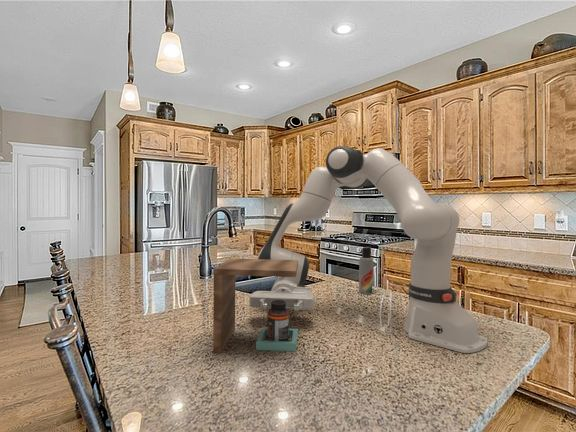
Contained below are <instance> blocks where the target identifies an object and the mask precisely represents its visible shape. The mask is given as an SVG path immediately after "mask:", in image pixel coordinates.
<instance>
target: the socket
mask: <svg viewBox="0 0 576 432" xmlns="http://www.w3.org/2000/svg"><path fill="white" fill-rule="evenodd" d="M298 332H299V331H298V328H289V338H291V341H288V342H286V341H267V340H265V339H266V337H267V327H264V326H263V327H261V329H260V332H259V334H258V336H257V339H256V342H255V350H256V351H257V350H258V351H279V352H280V351H281V352H297V343H298Z"/></svg>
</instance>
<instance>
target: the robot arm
mask: <svg viewBox="0 0 576 432" xmlns="http://www.w3.org/2000/svg"><path fill="white" fill-rule="evenodd" d="M368 181H369V182H370V183H372V185H374V188H376V189H377V190H378V191H379V192H380V193H381V195H382V196H383V197H384V198H385V200H386V201H388V203H390V205H391V207H392V208H393V209H394V211H395V213H396V215H397V216H398V218H399V220H400V221H401V228H402V230H403V232H404V233H405V234H406V235H407V236H408V237H410V238H411V239H414V240H417V242H416V245H415V248H414V251H413V253H412V256H411V258H410V282H409V284H408V299H409V301H408V308H407V314H406V320H405V322H404V325H403V330H404V331H405V332H406V333H407V336H408V338H409V339H411V340H413V341H419V342H423V343H426V344H429V345H434V346H437V347H440V348H445V349H448V350H451V351H455V352H459V353H462V354H472V353H476V352H479V351H483V350H484V349H485V348H486V347H487V346H488V338H487V337H485V336H484V335H481V334H479V325H478V321H477V320H476V318H475V317H474V316H472V315H471V313H469V312H468V311H467V310H466V309H465V308H464V307H463V306H461V304H460V303H459V302H457V296H459V295H460V294H459V293H460V291H459V290H457V291H455V290H454V289H453V288H452V286H451V275H452V273H451V272H452V260H453V253H454V248H455V244H456V240H457V232H458V228H459V225H460V216H459V214H458V212H457V210H456V209H455V208H453V207H452V206H450V205H448V204H447V203H442V202H436V201H434V200H433V199H432V198H431V197H430V196H429V194H428V193H427V192H426V190H425V188H424V187H423V185H422V182H421V181H420V180H419V179H418V178H417V177H416V176H415V175H414V174H413V173H412V172H411V171H410V170H409V169H408V167H406V166H405V165H404V163H402V162H401V161H400V160H399V159H398V158H397V157H396V156H394V155H393V154H392V153H390V152H389V151H387V150H385V149H383V148H382V147H381V148H379V147H378V148H374V149H371V150H370V151H369V152H367V153H366V154H363V151H362V150H359V149H355V148H353V147H352V148H351V147H348V146H343V145H340V146H339V145H338V146H336V147H333V148H331V150H330V151H329V152H328V153H327V155H326V157H325V166H317V167H315V168H313V169H312V171H311V172H310V174H309V176H308V178H307V180H306V182H305V184H304V186H303V189H302V191H301V195H300V197H298V199H297V200H295V202H294V203H290V204H288V205H287V207H286V208H285V209H284V210H283V213H282V214H281V216H280V218H279V219H278V221H277V223H276V225H275V226H274V228H273V231H272V233H270V236H269V238H268V239H267V242H265V244H264V245H263V247H262V248H261V249H260V251H259V253H258V255H257V258H256V259H270V260H298V269H297V274H296V277H278V278H277V279H276V280H275V281H274V283H273V285H272V287H271V290H256V291H253V292H252V293H251V294H249V295H250V296H249V301H248V302H249V307H250V308H255V309H256V308H260V309H261V310H262V311H266V310H268V309H271V302H272V301H274V300H283V301H285V302H286V307H285V308H286V309H288V310H293V312H299V310H314V309H315V295H314V293H313V291H311V290H310V286H306V285H304V284H305V282H306V280H307V277H308V275H309V268H310V263H309V260H308V258H307V256H306V255H304V254H301V253H300V252H299V253H298V252H296V251H292V250H289V249H286V248H284V247H283V248H282V247H281V246H280V245H279V243H280V241H281V240H282V238H283V236H284V234H285V232H286V231H287V229H288V227H289V226H291V225H292V224H294V223H297V222H313V221H318V220H320V219H323V218H324V217H325V216H326V215H327V213H328V211H329V210H330V209H329V208H330V207H331V204H332V201H333V198H334V196H335V193H336V191H337V190H338V189H340V190H357V189H361V188H363V187H364V186H365V185H367V183H368Z"/></svg>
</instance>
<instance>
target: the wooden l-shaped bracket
mask: <svg viewBox="0 0 576 432" xmlns="http://www.w3.org/2000/svg"><path fill="white" fill-rule="evenodd" d="M297 269H298V260H270V259H257V258H232V257H231V258H227V259H226V260H224V262H223V261H222V263H220V264H219V265H217V266H216V267H214V268H213V306H212V307H213V308H212V309H213V314H212V315H213V321H212V322H213V329H212V333H213V334H212V336H213V337H212V338H213V339H212V340H213V341H212V342H213V343H212V345H213V346H212V348H213V349H212V353H213V354H214V353H215V354H221V353H222V352H223V350H224V349H225V347H226V345H227V343H228V342H229V340H230V339H231V337H232V336H233V333H234V332H235V330H236V276H245V277H246V276H247V277H275V278H276V277H278V278H279V277H296V274H297Z"/></svg>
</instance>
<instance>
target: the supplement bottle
mask: <svg viewBox="0 0 576 432" xmlns="http://www.w3.org/2000/svg"><path fill="white" fill-rule="evenodd" d="M285 307H286V302H285V301H283V300H274V301H272V302H271V308H268V309H267V310H268V311H267V317H266V318H267V322H266V323H267V327H266V328H267V336H266V337H267V338H266V339H267V340H266V341H286V342H290V341H289V339H290V337H289V329H290V312H289V309H286V308H285Z"/></svg>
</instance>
